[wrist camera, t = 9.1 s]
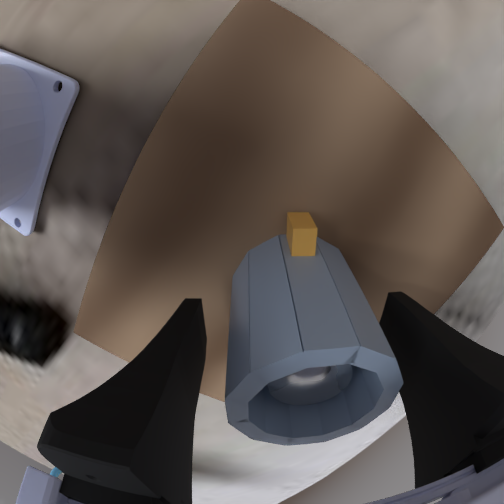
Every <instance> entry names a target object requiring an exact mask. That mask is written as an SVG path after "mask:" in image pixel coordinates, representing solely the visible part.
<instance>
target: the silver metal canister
mask: <svg viewBox="0 0 504 504" xmlns="http://www.w3.org/2000/svg"><path fill="white" fill-rule="evenodd" d="M352 374H353V371H352V367H351V364H343V365H334V366H323V367H310V368H305V369H303V370H300V371H298V372H295V373H293V374H290V375H288V376H285V377H283V378H280V379H277V380H275V381H272V382H269V383H268V390H269V392H270V394H271V395H272V396H273V397H274V398H275V399H277V400H278V401H280V402H283V403H286V404H291V405H310V404H315V403H319V402H323V401H325V400H328V399H330V398H332V397H334V396H336V395H337V394H339V393H340V392H341V391H343V390H344V389H345V388H346V387H347V385H348V384H349V383H350V381H351V378H352Z"/></svg>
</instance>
